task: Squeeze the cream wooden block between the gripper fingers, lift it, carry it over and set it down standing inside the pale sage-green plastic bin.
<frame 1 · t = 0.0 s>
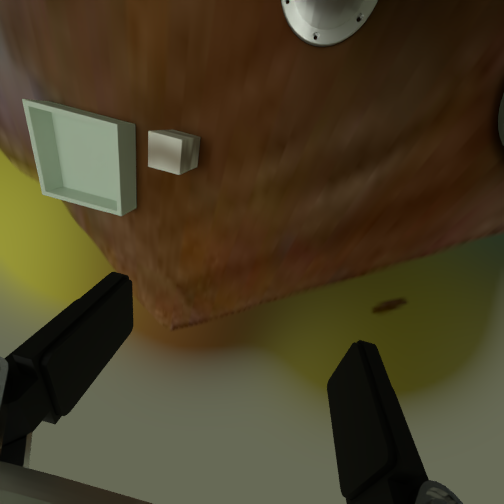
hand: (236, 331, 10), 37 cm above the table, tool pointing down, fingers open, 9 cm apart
sage bin: (96, 159, 46), on the table
cream block: (185, 148, 42), on the table
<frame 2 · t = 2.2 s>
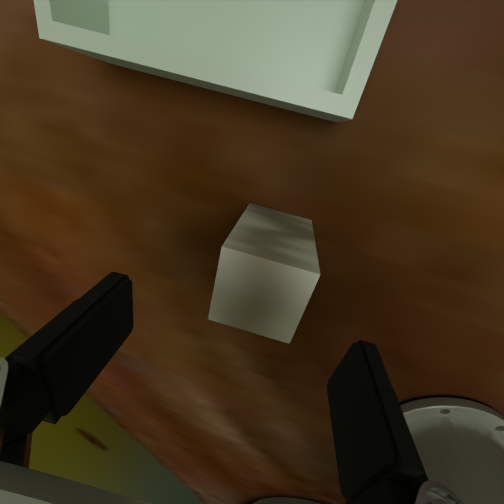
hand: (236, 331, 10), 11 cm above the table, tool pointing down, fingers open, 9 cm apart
cream block: (271, 239, 20), on the table
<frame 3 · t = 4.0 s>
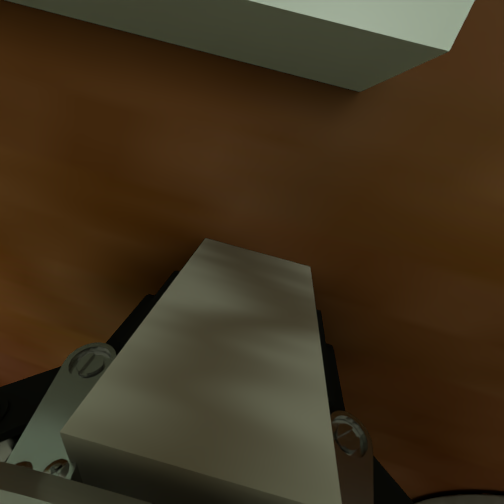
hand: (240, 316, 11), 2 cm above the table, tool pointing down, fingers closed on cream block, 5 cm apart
cream block: (246, 293, 12), on the table, touching gripper
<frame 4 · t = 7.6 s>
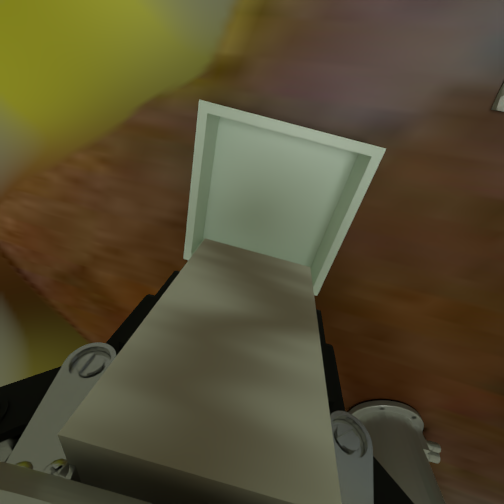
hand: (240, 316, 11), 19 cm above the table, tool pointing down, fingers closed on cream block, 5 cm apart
sage bin: (271, 198, 28), on the table
cream block: (246, 294, 12), point 18 cm above the table, touching gripper
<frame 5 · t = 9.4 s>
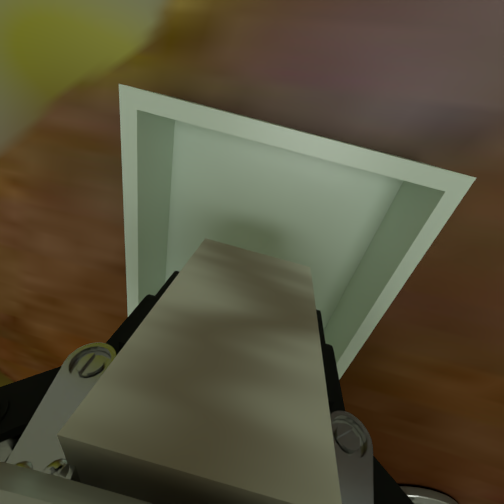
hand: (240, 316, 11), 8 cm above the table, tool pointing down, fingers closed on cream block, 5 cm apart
sage bin: (262, 240, 18), on the table
cream block: (246, 294, 12), point 7 cm above the table, touching gripper
when the fingers open (5 cm above the table, at t = 11.0 s): cream block drops 2 cm, resting on sage bin.
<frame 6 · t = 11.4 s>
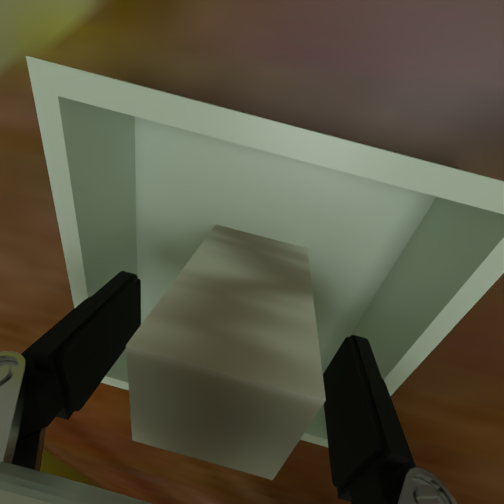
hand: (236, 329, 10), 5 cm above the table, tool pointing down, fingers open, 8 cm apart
sage bin: (253, 264, 15), on the table
cream block: (251, 273, 14), point 1 cm above the table, touching sage bin
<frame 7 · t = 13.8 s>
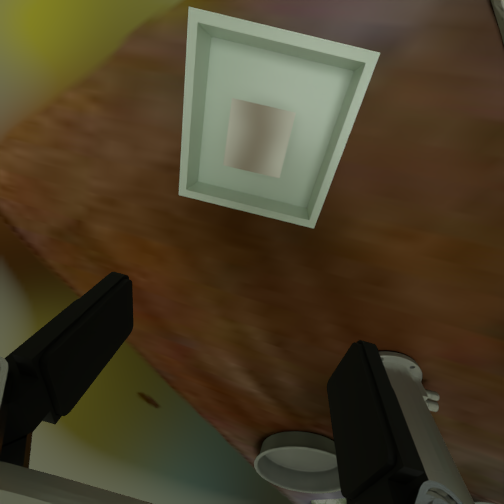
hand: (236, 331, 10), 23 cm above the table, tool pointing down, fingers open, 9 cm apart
sage bin: (266, 133, 27), on the table
cake pan: (302, 450, 63), on the table
cream block: (265, 134, 26), point 1 cm above the table, touching sage bin
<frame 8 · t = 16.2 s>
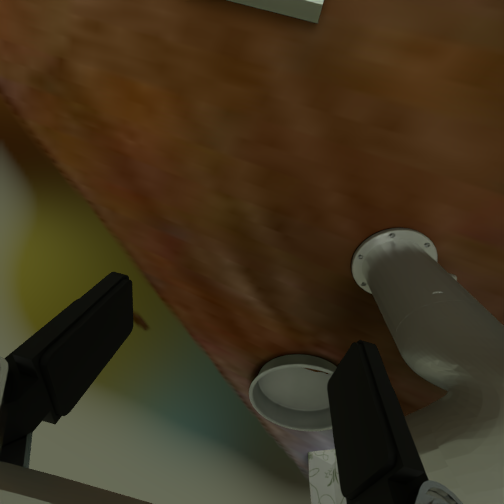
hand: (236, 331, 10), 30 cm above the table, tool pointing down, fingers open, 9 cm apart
cake pan: (301, 382, 59), on the table
grocery bag: (347, 473, 76), on the table
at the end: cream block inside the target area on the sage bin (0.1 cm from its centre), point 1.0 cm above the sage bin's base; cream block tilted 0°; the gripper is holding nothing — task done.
